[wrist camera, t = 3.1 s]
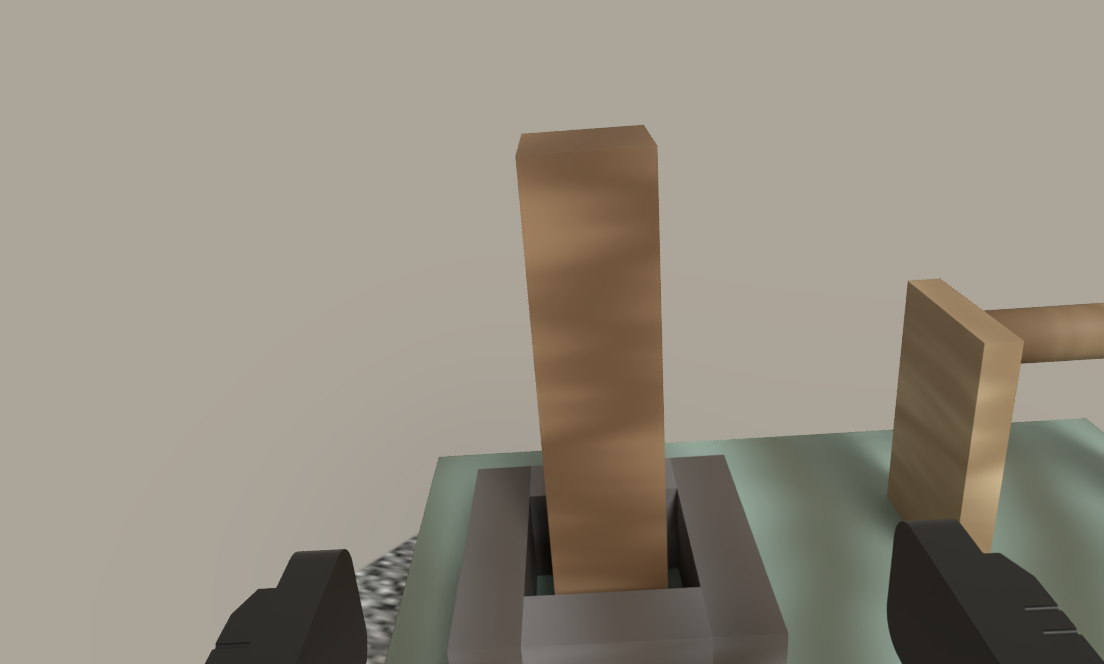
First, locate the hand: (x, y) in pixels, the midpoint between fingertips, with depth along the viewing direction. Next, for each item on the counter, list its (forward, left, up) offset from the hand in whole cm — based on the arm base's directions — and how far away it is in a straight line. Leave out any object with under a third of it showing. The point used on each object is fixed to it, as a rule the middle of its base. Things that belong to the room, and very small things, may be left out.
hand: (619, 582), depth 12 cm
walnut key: (0, +9, -9) cm, 13 cm away
